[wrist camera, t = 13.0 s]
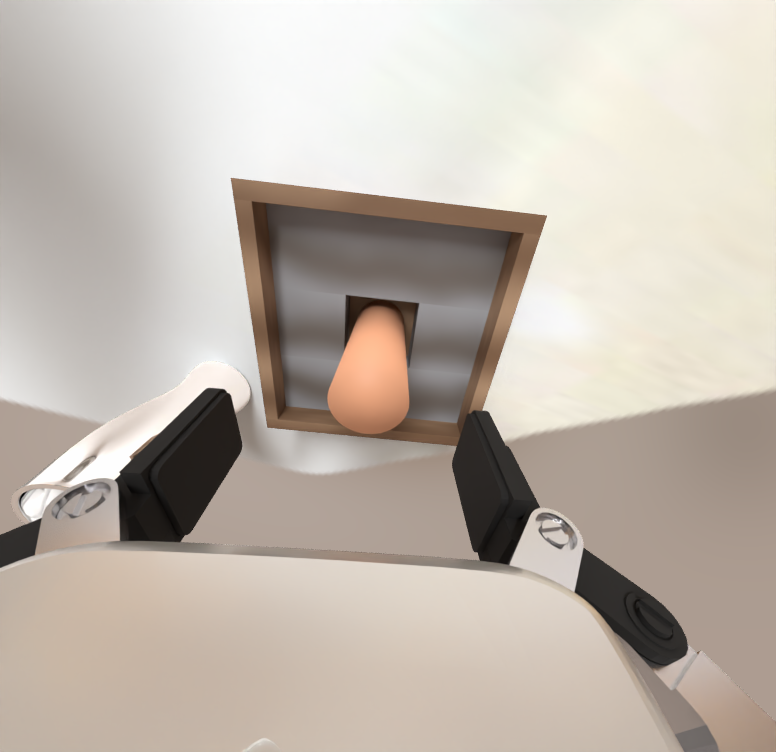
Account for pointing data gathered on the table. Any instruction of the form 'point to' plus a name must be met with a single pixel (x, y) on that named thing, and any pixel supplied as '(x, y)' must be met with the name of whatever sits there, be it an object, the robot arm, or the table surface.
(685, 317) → the table surface
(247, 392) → the beer glass
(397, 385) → the peg
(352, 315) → the bore box
